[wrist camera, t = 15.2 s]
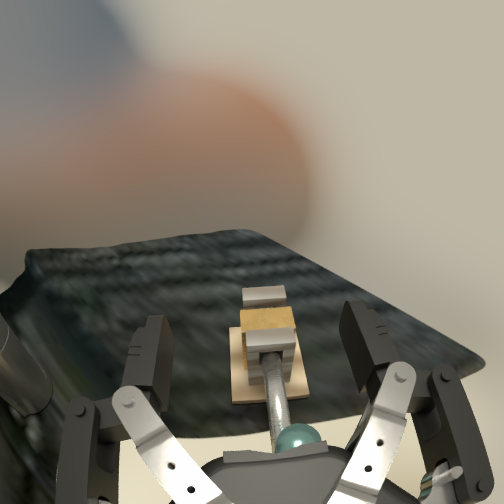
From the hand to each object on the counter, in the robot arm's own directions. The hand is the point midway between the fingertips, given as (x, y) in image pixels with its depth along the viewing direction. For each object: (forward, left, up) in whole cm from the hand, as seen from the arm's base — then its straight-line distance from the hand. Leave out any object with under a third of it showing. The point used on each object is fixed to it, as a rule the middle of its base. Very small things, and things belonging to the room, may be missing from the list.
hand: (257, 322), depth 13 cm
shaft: (+5, 0, -26) cm, 27 cm away
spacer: (+16, +8, -29) cm, 34 cm away
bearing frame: (+16, +8, -30) cm, 35 cm away
